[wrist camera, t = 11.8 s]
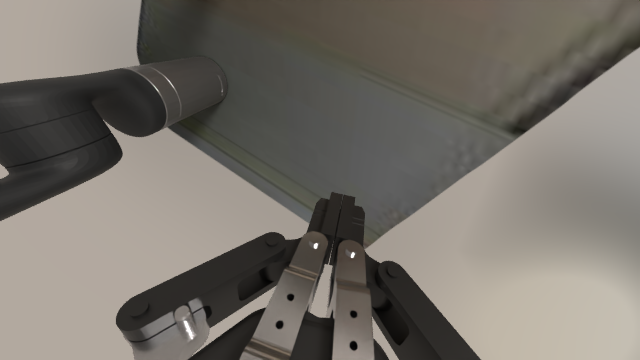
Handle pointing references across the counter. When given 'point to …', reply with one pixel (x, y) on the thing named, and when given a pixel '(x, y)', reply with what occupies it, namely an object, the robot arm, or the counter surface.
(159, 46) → the counter surface
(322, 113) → the counter surface
